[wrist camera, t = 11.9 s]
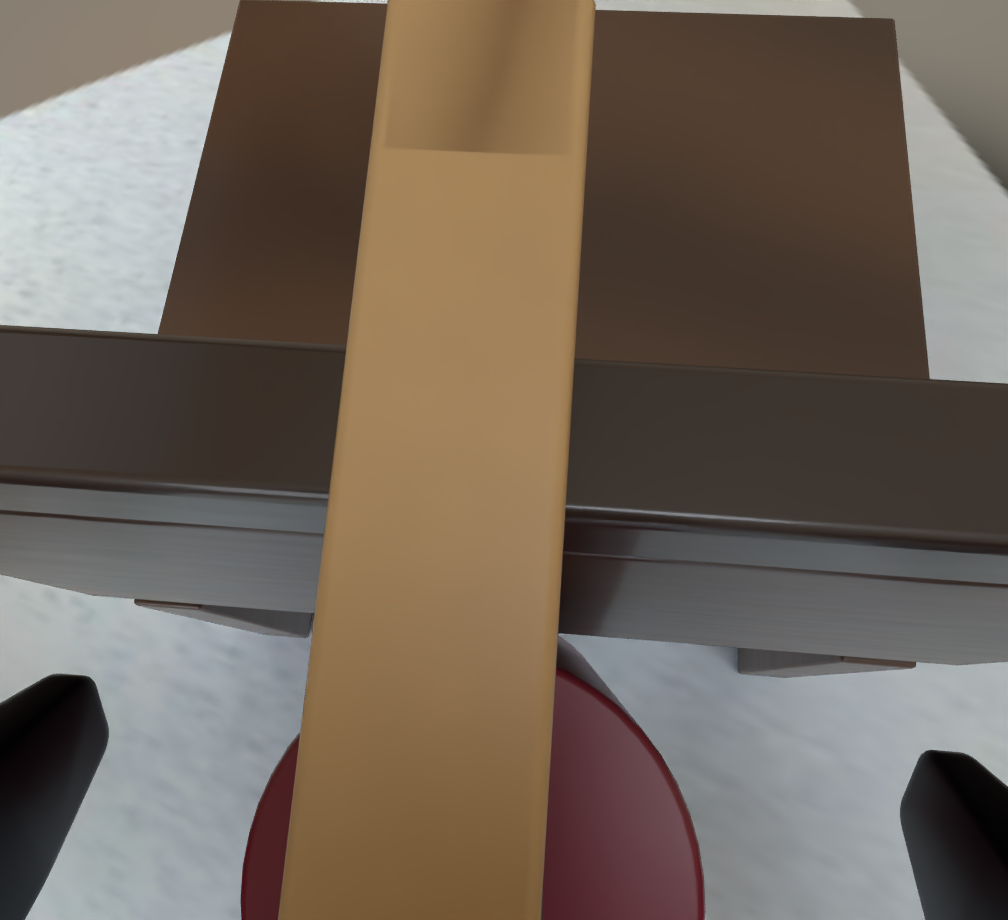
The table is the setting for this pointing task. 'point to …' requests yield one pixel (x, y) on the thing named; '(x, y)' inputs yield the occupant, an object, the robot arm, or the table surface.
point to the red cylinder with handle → (465, 527)
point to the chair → (597, 364)
